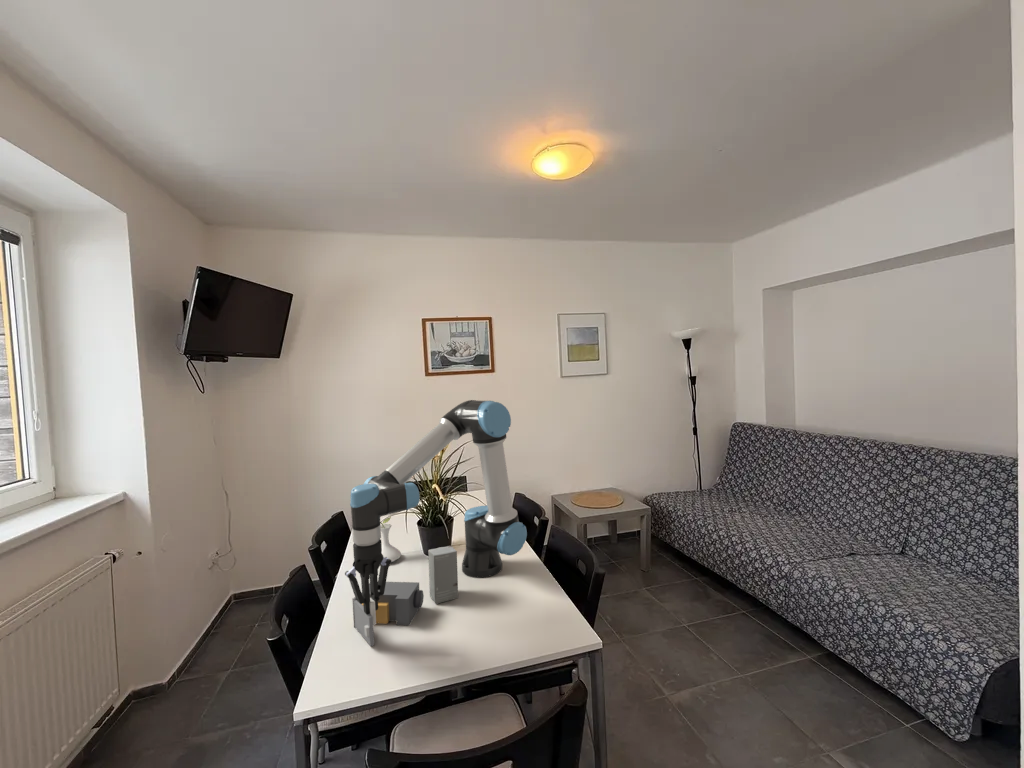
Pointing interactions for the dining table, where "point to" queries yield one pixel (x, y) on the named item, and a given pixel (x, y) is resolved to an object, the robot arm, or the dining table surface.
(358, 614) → the door
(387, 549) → the flower in vase
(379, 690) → the dining table surface
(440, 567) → the skincare box
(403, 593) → the housing
